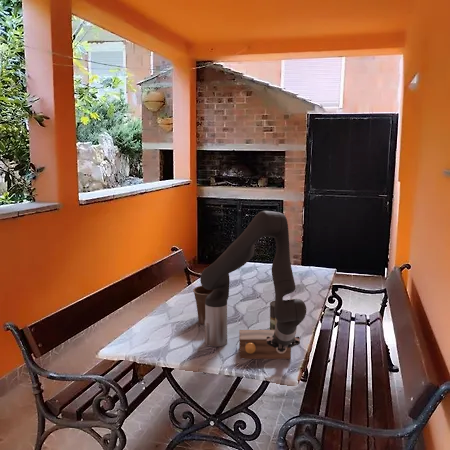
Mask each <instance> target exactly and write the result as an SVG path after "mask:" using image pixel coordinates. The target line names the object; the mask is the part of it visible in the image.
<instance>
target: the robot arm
mask: <svg viewBox="0 0 450 450" xmlns="http://www.w3.org/2000/svg"><path fill="white" fill-rule="evenodd" d="M289 234H290V233H289V223H288V218H287V217H286V215H285V214H284V213H282V212H279V211H271V210H262V211H259V212H258V213H257V214H256V215H255V216H254V217H253V218H252V220H251V221H250V223H249V224H248V225H247V227H246V228H245V229H244V231H242V233H241V234H240V235H239V236H237V238H236V239H235V240H234V241H232V243H231V244H230V245H229V246H228V247H227V248H226V249H225V250H224V251H223V253H221V254H220V255H219V257H217V259H216V260H215V261H213V262H212V263H211V264H209V266H207V267H205V268H204V269H203V270H202V272H201V274H200V280H199V281H200V286H203V287H204V288H205V289H208V290H213V291H212V292H211V293H210V294H209V295H208V296H207V297H206V299H205V325H204V341H205V345H206V346H207V347H215V348H216V347H217V348H218V347H224V346H226V345H228V299H229V295H230V281H231V280H230V273H233V272H235V271H237V270H239V269H240V268H242V267H243V266H244V265H246V264H247V263H248V262H249V261H250V260H251V259H252V258H253V256H254V255H255V254H254V253H255V244H256V243H257V242H258V241H259V240H260V239H262V238H274V241H275V244H276V250H275V254H274V255H275V256H274V258H273V261H272V265H271V277H272V282H273V287H274V294H275V295H274V301H275V306H274V315H275V318H276V319H277V323H276V326H275V331H274V335H273V336H272V337H271V338H270V337H267V344H268V345H270V346H272V347H274V348H277V347H278V351H280V352H283V351H285V349H286V347H288V348H291V349H292V348H293V347H295V346H297V345H301V341H300V336H296V335H297V331H298V330H297V327H298V326H299V325H300V324H301V323H302V322H303V321H304V320H305V317H307V316H306V315H307V306H306V304H305V301H303V300H302V299H301V298H290V299H291V300H290V299H284V297H285V296H287V295H289V294H292V293H294V292H295V291H296V282H295V278H294V272H293V269H292V263H291V254H290V253H291V251H290V235H289ZM283 300H284V301H283Z"/></svg>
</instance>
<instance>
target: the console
mask: <svg viewBox="0 0 450 450" xmlns="http://www.w3.org/2000/svg"><path fill="white" fill-rule="evenodd" d="M238 331H239V338H238V339H239V341H238V342H239V346H238V347H239V348H238V349H239V359H240V360H242V359H244V360H249V359H250V360H251V359H252V360H256V359H257V360H258V359H259V360H260V359H261V360H264V359H266V360H270V359H273V360H278V359H282V360H285V359H287V360H288V359H290V360H292V359H291V358H292V347H291V348H288V347H286V352H285V353H282V354H280V353H278V352H277V350H276V348H274V347H272V346H270V345H268V344H267V337H270V338H271V337H272V336H273V335H274V331H275V330H270V329H239V330H238ZM246 342H254V344H255V348H256V350H255V352H254V353H251V354H250V353H247V352H246V350H245V346H246Z"/></svg>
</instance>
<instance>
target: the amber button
mask: <svg viewBox="0 0 450 450" xmlns="http://www.w3.org/2000/svg"><path fill="white" fill-rule="evenodd" d="M245 350H246V352H247V353H250V354H251V353H254V352H255V350H256V348H255V344H254V342H246V346H245Z"/></svg>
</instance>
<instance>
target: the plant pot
mask: <svg viewBox="0 0 450 450" xmlns="http://www.w3.org/2000/svg"><path fill="white" fill-rule="evenodd" d="M192 291H193V293H194V299H195V303H196V311H197V319H198V320H197V321H198V324H200V325H203V326H205V299H206V297H207V296H208V295H209V294H210V293H211V292H212V291H213V290H208V289H205V288H204V287H203V286H202V285H199V286H196V287H194V288H193V290H192Z"/></svg>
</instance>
